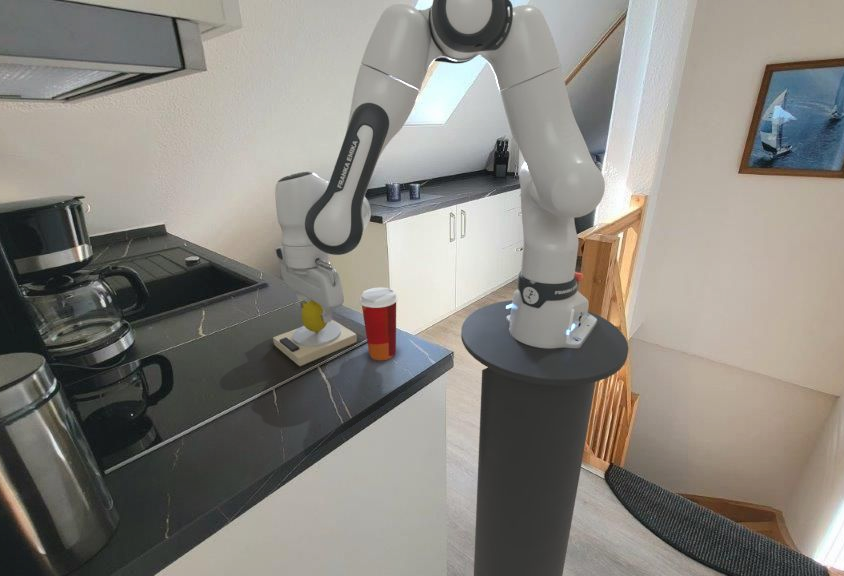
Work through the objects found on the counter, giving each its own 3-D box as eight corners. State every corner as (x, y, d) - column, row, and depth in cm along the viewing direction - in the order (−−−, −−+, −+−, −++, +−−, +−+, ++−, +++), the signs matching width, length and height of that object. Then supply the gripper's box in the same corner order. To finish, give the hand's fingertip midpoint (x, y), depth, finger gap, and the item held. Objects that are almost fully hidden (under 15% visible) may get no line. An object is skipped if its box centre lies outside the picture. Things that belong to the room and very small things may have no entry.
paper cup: (389, 340, 91) (386, 283, 86) (407, 355, 86) (404, 295, 80) (357, 351, 87) (352, 292, 82) (374, 367, 82) (368, 305, 76)
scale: (329, 324, 99) (328, 314, 98) (357, 341, 91) (356, 331, 90) (274, 345, 90) (272, 335, 89) (299, 366, 82) (297, 355, 81)
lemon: (334, 328, 92) (330, 296, 89) (321, 340, 87) (316, 306, 84) (313, 325, 93) (308, 293, 90) (299, 336, 88) (293, 303, 85)
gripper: (347, 261, 78) (354, 324, 83) (298, 241, 92) (306, 297, 97) (318, 269, 74) (327, 335, 79) (271, 247, 88) (281, 305, 93)
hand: (315, 314), depth 88 cm, fingers open, 8 cm apart
